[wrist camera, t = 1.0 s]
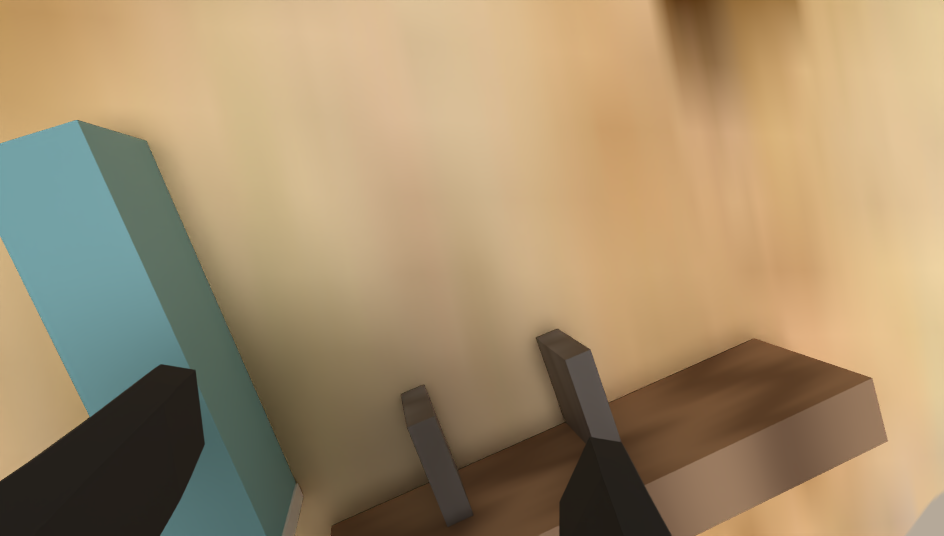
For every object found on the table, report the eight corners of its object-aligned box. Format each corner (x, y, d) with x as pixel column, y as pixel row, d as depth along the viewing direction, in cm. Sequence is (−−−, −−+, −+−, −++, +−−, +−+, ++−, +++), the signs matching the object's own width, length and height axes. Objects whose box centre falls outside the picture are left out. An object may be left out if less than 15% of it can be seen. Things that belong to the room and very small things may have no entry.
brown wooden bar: (354, 577, 23) (350, 705, 17) (293, 439, 22) (265, 524, 16) (768, 387, 26) (887, 441, 20) (731, 256, 25) (846, 271, 19)
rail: (225, 525, 22) (184, 616, 17) (59, 169, 20) (-44, 157, 15) (304, 492, 22) (286, 572, 17) (151, 140, 20) (80, 118, 15)
